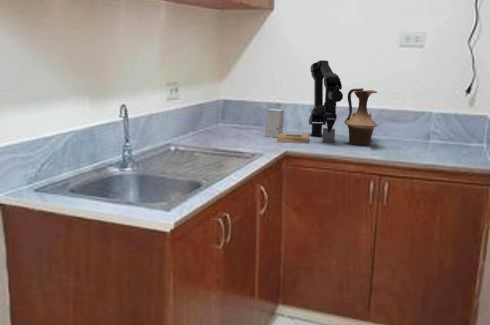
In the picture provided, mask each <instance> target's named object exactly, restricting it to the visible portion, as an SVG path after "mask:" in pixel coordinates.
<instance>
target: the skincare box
mask: <svg viewBox="0 0 490 325" xmlns="http://www.w3.org/2000/svg"><path fill="white" fill-rule="evenodd" d="M265 116H266V118H265V119H266V120H265V130H264V135H265V137H271V138H277V137H278V135H279V133H282V134H283V132H284V130H283V129H284V119H285V118H284V117H285V110H283V109H276V108H267V110H266V115H265Z"/></svg>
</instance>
